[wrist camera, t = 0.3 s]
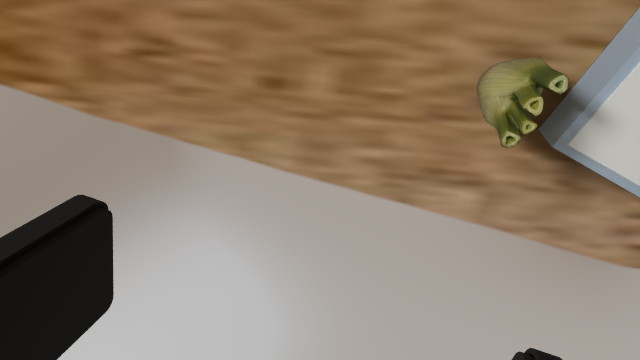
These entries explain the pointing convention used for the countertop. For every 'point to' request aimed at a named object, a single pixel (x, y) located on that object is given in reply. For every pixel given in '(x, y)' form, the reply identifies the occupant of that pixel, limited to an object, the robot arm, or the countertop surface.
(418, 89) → the countertop surface
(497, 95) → the fennel bulb
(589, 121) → the base block
